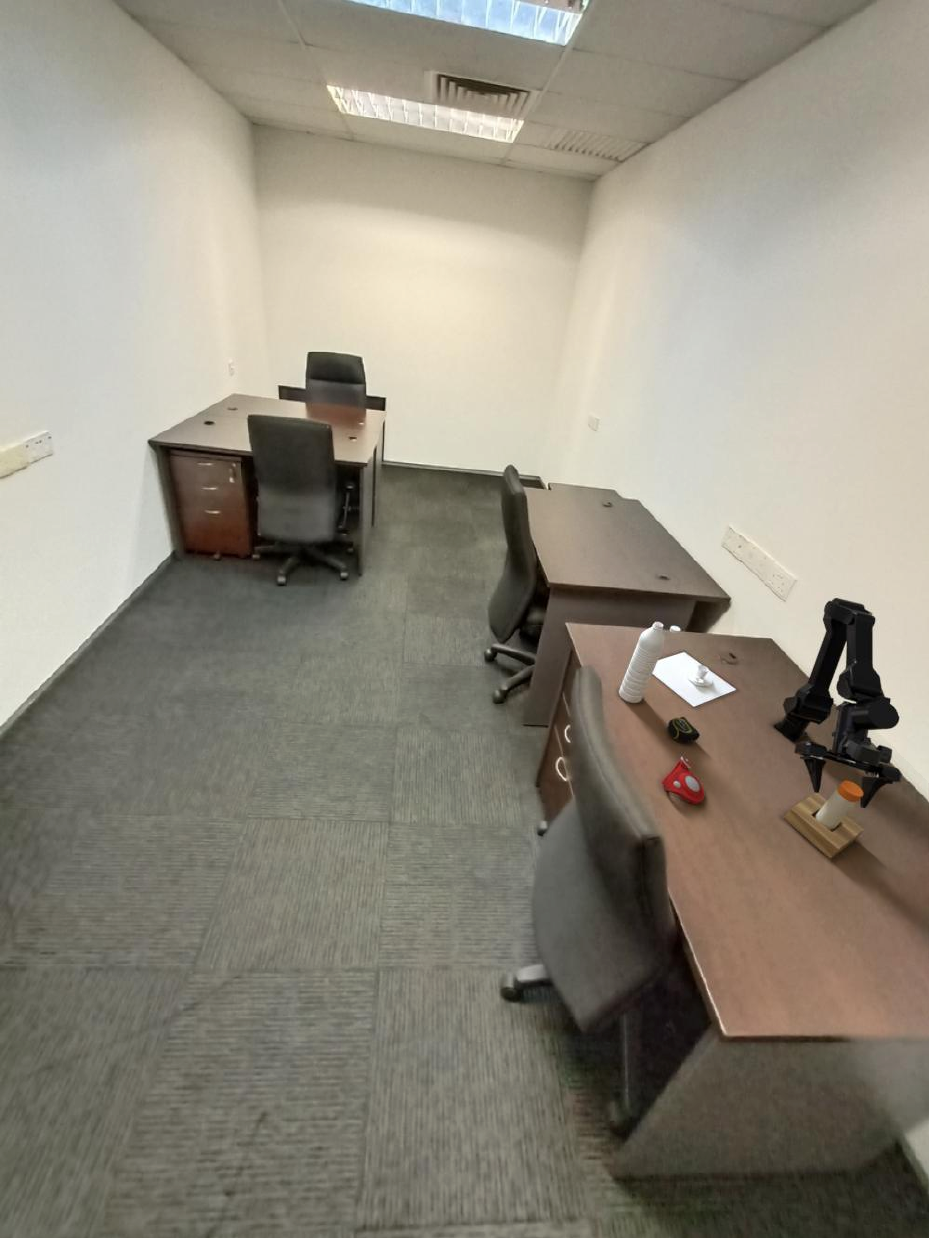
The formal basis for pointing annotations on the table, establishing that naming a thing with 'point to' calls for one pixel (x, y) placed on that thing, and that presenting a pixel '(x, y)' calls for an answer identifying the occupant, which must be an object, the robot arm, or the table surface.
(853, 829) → the holder
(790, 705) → the robot arm
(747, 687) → the table surface
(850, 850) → the table surface
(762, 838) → the table surface
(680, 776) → the tracker holder
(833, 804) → the glue stick
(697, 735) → the tape measure
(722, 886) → the table surface
